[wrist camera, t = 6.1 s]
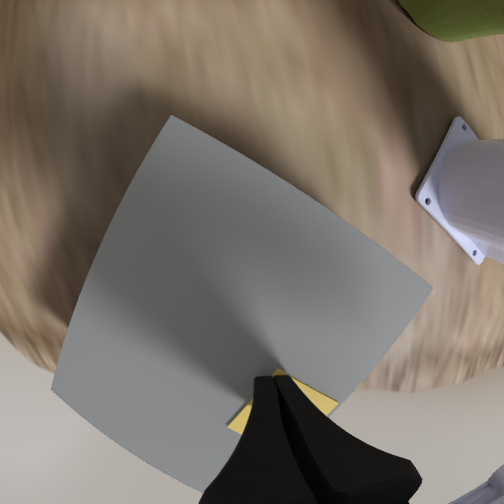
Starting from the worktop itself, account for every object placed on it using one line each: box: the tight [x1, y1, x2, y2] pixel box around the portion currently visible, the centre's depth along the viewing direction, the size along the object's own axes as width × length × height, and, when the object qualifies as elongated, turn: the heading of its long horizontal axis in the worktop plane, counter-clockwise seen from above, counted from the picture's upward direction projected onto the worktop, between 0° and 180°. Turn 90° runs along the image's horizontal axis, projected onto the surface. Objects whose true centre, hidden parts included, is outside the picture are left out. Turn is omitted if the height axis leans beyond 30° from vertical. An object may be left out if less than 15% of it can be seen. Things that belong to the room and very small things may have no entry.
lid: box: [51, 115, 433, 493], centre depth 12 cm, size 12×16×1 cm
